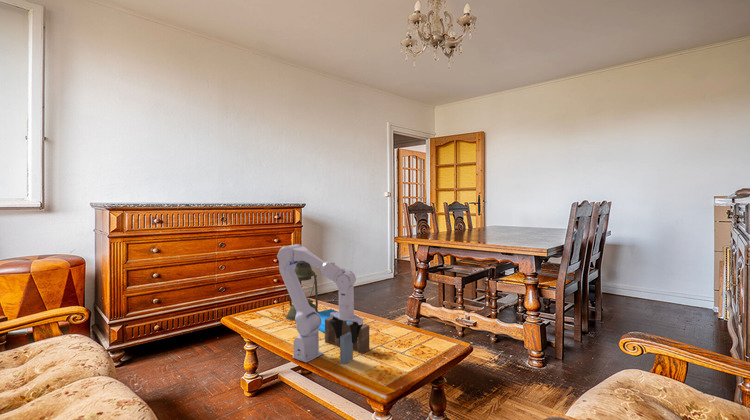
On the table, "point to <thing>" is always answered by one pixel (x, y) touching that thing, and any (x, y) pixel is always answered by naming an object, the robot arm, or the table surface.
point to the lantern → (303, 274)
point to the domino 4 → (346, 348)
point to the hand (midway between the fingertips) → (346, 339)
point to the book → (325, 315)
